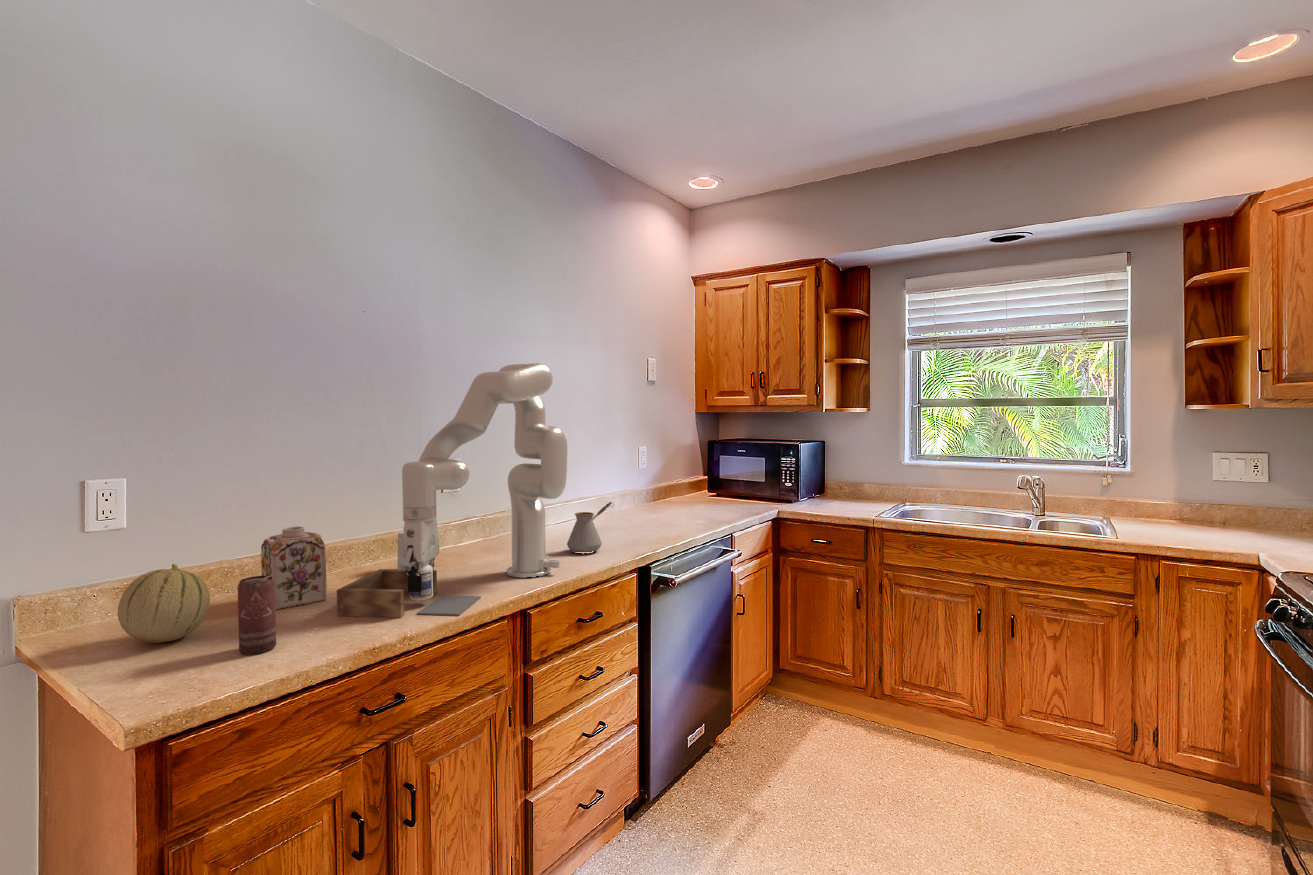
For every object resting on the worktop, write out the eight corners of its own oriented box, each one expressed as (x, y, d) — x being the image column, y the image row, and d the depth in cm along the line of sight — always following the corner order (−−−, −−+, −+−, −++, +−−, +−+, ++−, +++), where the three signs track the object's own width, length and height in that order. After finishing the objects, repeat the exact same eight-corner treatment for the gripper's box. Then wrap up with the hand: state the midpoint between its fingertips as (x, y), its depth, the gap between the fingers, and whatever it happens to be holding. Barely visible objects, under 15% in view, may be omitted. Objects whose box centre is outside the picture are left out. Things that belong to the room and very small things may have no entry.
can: (284, 645, 125) (283, 575, 124) (254, 657, 119) (253, 584, 118) (262, 641, 127) (260, 573, 126) (231, 653, 121) (229, 581, 120)
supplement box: (415, 573, 181) (414, 533, 180) (396, 572, 182) (396, 532, 182) (426, 568, 187) (426, 530, 186) (408, 567, 188) (408, 529, 187)
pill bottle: (413, 594, 154) (412, 555, 153) (435, 594, 154) (435, 554, 154) (406, 601, 148) (405, 560, 148) (429, 600, 149) (428, 560, 148)
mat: (481, 597, 157) (481, 596, 157) (459, 615, 143) (459, 614, 143) (442, 596, 158) (442, 595, 158) (416, 614, 144) (416, 612, 144)
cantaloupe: (105, 659, 118) (103, 579, 117) (134, 633, 131) (131, 562, 131) (200, 647, 124) (198, 572, 123) (218, 624, 137) (216, 556, 136)
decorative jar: (313, 590, 163) (312, 521, 162) (328, 600, 155) (326, 528, 154) (260, 600, 155) (258, 527, 154) (272, 611, 146) (271, 534, 146)
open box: (436, 593, 160) (436, 570, 160) (400, 617, 142) (400, 591, 141) (380, 592, 162) (380, 569, 161) (337, 615, 143) (336, 589, 143)
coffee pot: (587, 557, 201) (587, 510, 201) (559, 552, 207) (559, 507, 207) (625, 545, 219) (625, 502, 219) (599, 541, 225) (599, 500, 225)
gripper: (418, 519, 141) (419, 599, 142) (449, 507, 158) (451, 578, 159) (386, 519, 142) (387, 598, 143) (421, 507, 159) (422, 578, 160)
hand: (421, 587), depth 151 cm, fingers closed on pill bottle, 5 cm apart
